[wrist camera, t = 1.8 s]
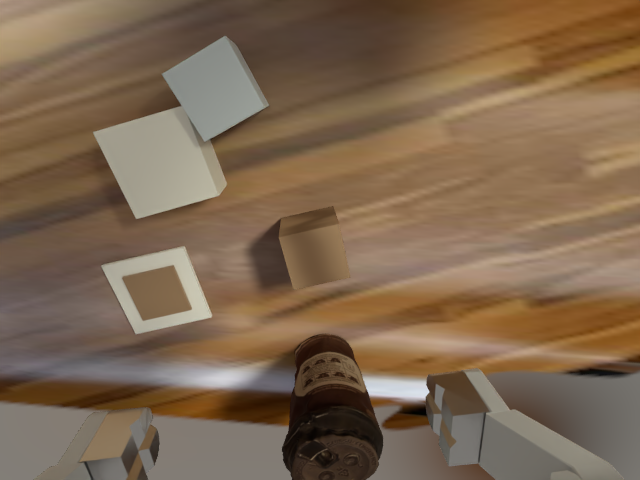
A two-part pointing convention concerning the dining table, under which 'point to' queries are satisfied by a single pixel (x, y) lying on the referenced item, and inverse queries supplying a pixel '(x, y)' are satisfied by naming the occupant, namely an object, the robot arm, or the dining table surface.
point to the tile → (158, 289)
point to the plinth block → (161, 162)
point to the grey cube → (216, 88)
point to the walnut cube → (313, 248)
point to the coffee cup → (330, 415)
